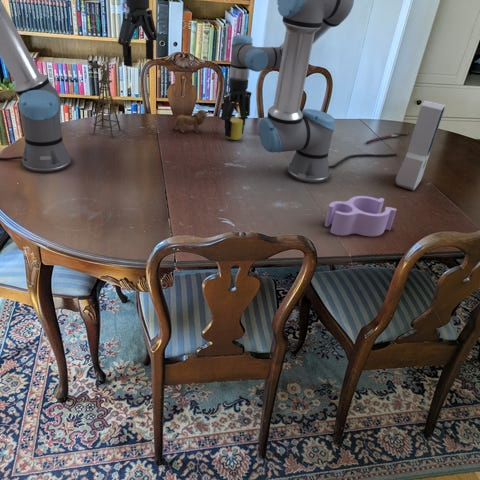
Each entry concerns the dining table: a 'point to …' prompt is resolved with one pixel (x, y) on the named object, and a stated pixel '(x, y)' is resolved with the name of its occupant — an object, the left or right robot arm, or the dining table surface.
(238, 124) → the tin
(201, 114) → the lion figurine
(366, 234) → the clip
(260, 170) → the dining table surface
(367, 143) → the sword
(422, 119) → the electronic device
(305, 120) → the right robot arm
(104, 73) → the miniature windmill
